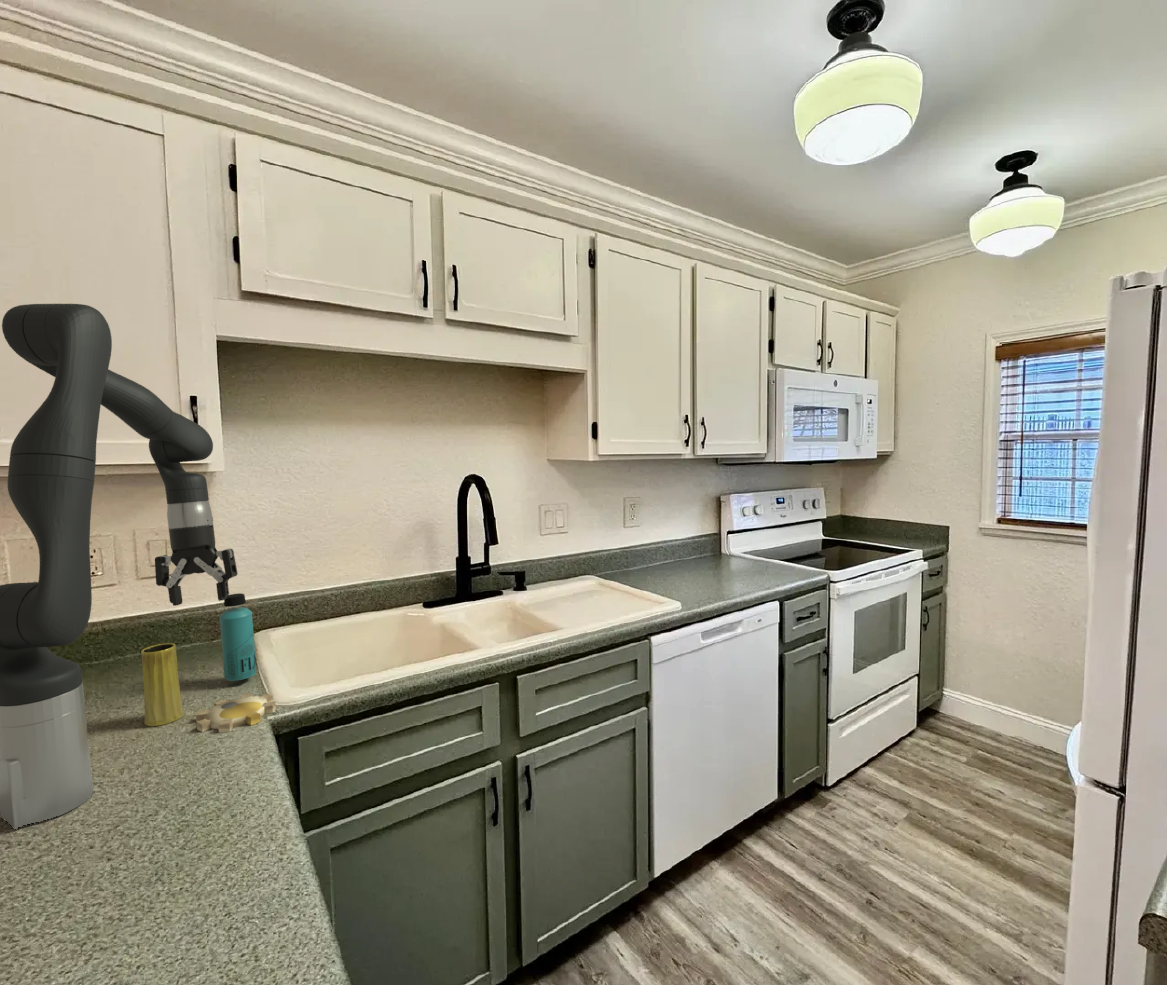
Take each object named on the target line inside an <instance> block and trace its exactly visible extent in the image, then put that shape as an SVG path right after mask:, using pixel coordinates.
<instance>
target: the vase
mask: <svg viewBox="0 0 1167 985" xmlns="http://www.w3.org/2000/svg"><path fill="white" fill-rule="evenodd" d="M140 654H141V658H142V659H141V664H142V673H143V675H142V676H143V701H144V702H143V703H144V722H143V723H144V725H145V726H147V727H159V726H164V725H168V724H170V723H173V722H176V721H178V720H180V719H181V718H182V717H183V716H184V713H185V712H184V708H183V700H182V694H181V688H180V681H179V680H180V679H179V672H178V659H177V658H178V657H177V647H176V644H175V643H170V642H166V643H159V644H154V645H150V646H148V647H145V648H143V649H142V650H141V652H140Z"/></svg>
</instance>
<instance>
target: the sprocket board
mask: <svg viewBox="0 0 1167 985" xmlns="http://www.w3.org/2000/svg"><path fill="white" fill-rule="evenodd" d="M276 710H277V708H276V701H274V700H273V695H272V694H268V693H267V694H264V695H261V696H256V695H255V696H254V695H253V693H245V694H242V695H241V696H240V697H238V698H233V699H229V700H226V699H223V698H222V699H220V700H218V701H215V702H213V707H211V708H209V709H205V710H200V711H198V712H197V714H196V715H195V720H196V728H197V731H199V732H201V733H204V732H206V731H208V730H211V729H214V730H218V733H219V734H220V733H228V732H231V731H232V730H233V728H237V727H241V726H243V725H249V726H254V725H255V724H257V723H260V722H262V718H261V717H263V716H264V715H265V714H267V715H268V714H273V713H274V712H276Z"/></svg>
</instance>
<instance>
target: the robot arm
mask: <svg viewBox="0 0 1167 985" xmlns="http://www.w3.org/2000/svg"><path fill="white" fill-rule="evenodd" d="M1 330H2V334H3V336H4V339H5V342H7V344H8V346H9V347H10V348H11V349H12V350H13V351H14V353H16V354H17V355H18V356H19V357H21V358H22V359H23V360H24V361H26V362H28V363H29V364H31V365H32V366H34V367H36V368H38V369H39V370H41V371H43V372H45V373H46V374H48V375H50V376H52V377H54V382H53V385H52V387H51V389H50V392H49V394H48V395H47V397H46V398H45V400H44V401H43V402H42V403H41V405H40V406H39V407H38V408H37V410H35V412H34V413H33V415H31V417H30V418H29V419H28V420H27V421H26V422H25V423H24V425H23V426H22V428H20V430H19V432H18V433H17V435H16V437H15V438H14V440H13V441H12V445H11V448H10V453H9V462H8V472H7V492H8V495H9V497H10V500H11V501H12V504H13V506H14V507H15V509H16V511H17V513H18V514H19V515H20V517H21V518H22V520H23V521H24V523H25V524H26V525H27V527H28V529H29V531H30V532H31V534H32V535H33V537H34V539H35V541H36V545H37V549H38V554H39V571H38V572H39V575H38V581H32V582H31V581H29V582H13V583H5V584H1V585H0V818H1V819H3V820H4V819H5V820H6V821H7V822H8V823H9V824H10V825H11V826H12V827H14V828H18V827H21V828H23V827H24V826H23V825H26V824H30V825H32V824H31V823H34V824H36V823H35V822H39V823H41V822H40V821H42V822H44V821H43V820H46V821H48V820H47V819H49V820H51V818H52V819H54V818H53V817H55V818H57V817H59V816H62V815H64V814H67V813H69V812H70V811H72V810H74V809H76V808H78V807H80V806H81V805H83V804H84V803H85V802H87V800H89V798H91V796H92V794H93V793H94V785H93V775H92V774H93V773H92V765H91V755H90V746H89V736H88V735H89V734H88V724H87V713H86V702H85V694H84V683H83V682H84V681H83V674H82V668H81V666H80V665H79V664H78V663H77V662H75V661H72V660H69V659H66V658H63V657H61V656H58V655H57V654H55V653H53V652H52V651H51V650H50V649H49V648H50V647H62V646H67V645H69V644H72V643H74V642H75V641H76V640H78V639H79V638H80V637H81V636H82V635H83V633H84V632H85V630H86V629H87V627H88V624H89V620H90V616H91V612H92V600H93V599H92V596H93V594H92V575H91V574H92V572H91V552H90V551H91V550H90V543H91V542H90V539H91V538H90V535H91V516H92V514H91V513H92V500H93V494H94V488H95V487H94V486H95V478H96V477H95V475H96V463H97V440H98V438H97V437H98V429H99V422H100V421H99V420H100V412H101V406H102V407H104V408H105V409H107V410H108V411H109V412H111V413H112V414H113V415H115V416H116V417H117V418H119V419H120V420H121V421H122V422H124V424H126V425H127V426H129V428H131V429H132V430H134V432H136V433H137V434H138V435H140V436H141V437H143V438H144V439H148V450H149V454H150V455H151V458H152V460H153V462H154V464H155V466H156V469H157V470H158V473H159V475H160V478H161V479H162V481H163V484H164V487H165V488H164V489H165V497H166V504H167V505H166V507H167V509H166V510H167V512H166V519H167V525H168V526H167V527H168V535H169V543H170V549H171V551H172V554H171V555H167V554H164V555H160V556H159V555H158V556H156V557H155V558H154V567H155V568H154V570H155V585H156V586H159V587H161V586H162V587H166V588H167V589H168V590H167V591H168V597H169V598H168V599H169V600H168V601H169V602H170V603H171V604H172V605H173V606H180V605H182V604H183V595H182V588H181V587H182V586H181V585H180V583H181V582H182V581H183V580H184V578H185V577H187V576H186V575H188V576H189V575H193V574H204V573H206V574H207V575H208V576H210V577H212V578H213V579H214V580H215V581H216V583H215V586H216V594H217V601H219V602H220V601H224V600H225V599H226V598H227V596H228V595H230V588H229V580H230V579H232V578H234V577H236V576H237V575H238V568H237V564H236V557H235V552H234V549H233V548H226V549H222V550H217V547H216V536H215V529H214V528H215V527H214V517H213V511H212V507H211V505H210V499H209V490H208V483H207V479H206V476H205V475H204V474H201V473H197V472H189V471H186V470H185V469H184V468H183V466H182V464H181V463H185V462H186V463H187V462H200V461H203V460H206V459H207V458H208V457H210V456H211V454H212V453H213V449H214V443H213V439H212V437H211V435H210V433H209V432H208V431H207V430H206V429H205V428H204V427H203V426H201V425H200V424H198V423H196V422H194V421H193V420H191V419H189V418H187V417H186V416H184V415H182V414H180V413H177V412H176V411H173V410H172V409H171V408H170V407H169V406H168V405H167V404H166V403H165V402H164V401H162V400H161V398H160V397H158V396H157V394H155V393H154V392H153V391H151V390H150V389H149V388H147V387H145V386H143V385H142V384H140V383H138V382H137V381H134V380H132V379H130V378H128V377H126V376H123V375H121V374H119V373H117V372H114V371H112V370H111V369H109V366H110V362H111V356H112V348H113V344H112V333H111V328H110V324H109V323H108V321H107V320H106V318H105V316H104V315H103V314H102V313H101V311H99V310H98V309H96V308H95V307H93V306H90V305H88V304H81V303H29V304H21V305H16V306H14V307H11V308H10V309H9V310H7V311H6V312H5V314H4V315H3V318H2V323H1ZM218 558H219V560H221V561H222V563H223V564H222V565H223V568H224V570H223V568H222V567H221V566H220V565H219V564H218V563H217V562H216V561H217V559H218ZM171 564H173V565H174V566H176V567H175V568H174V570H173V572H171V575H170V567H169V566H170V565H171ZM56 816H57V817H56ZM5 820H4V821H5ZM6 821H5V822H6ZM7 822H6V823H7ZM8 823H7V824H8ZM9 824H8V825H9ZM10 825H9V826H10ZM11 826H10V827H11ZM22 826H23V827H22ZM26 826H27V825H26ZM12 827H11V828H12Z"/></svg>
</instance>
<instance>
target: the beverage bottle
mask: <svg viewBox="0 0 1167 985" xmlns="http://www.w3.org/2000/svg"><path fill="white" fill-rule="evenodd" d="M246 601H247V599H246V595H245V593H232V594H231V593H230V594H229V595H228V596H227V598H226V599H225V600H223V606H224V607H229V608H228V609H226V610H224V611H223V613H222V614H220V615H219V622H220V625H219V626H220V635H221V650H222V652H221V654H222V655H221V658H222V659H221V660H222V666H223V671H222V672H223V677H224V680H226V681H228V682H229V681H230V682H231V681H233V682H234V681H235V682H237V681H241V680H245V679H249V678H252V677H253V676H255V675H256V674H257V668H258V667H257V665H258V664H257V656H256V654H257V653H256V648H257V647H256V645H255V632H254V630H255V627H254V622H253V611H252V610H250V609H249V608H247V607H242V606H241V605H245V604H246V603H247V602H246ZM237 606H239V607H237ZM240 606H241V607H240ZM230 607H233V608H230Z"/></svg>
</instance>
